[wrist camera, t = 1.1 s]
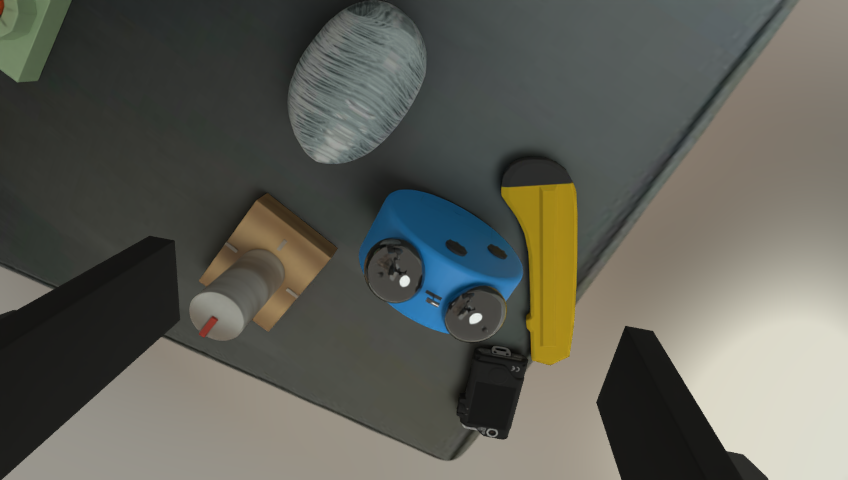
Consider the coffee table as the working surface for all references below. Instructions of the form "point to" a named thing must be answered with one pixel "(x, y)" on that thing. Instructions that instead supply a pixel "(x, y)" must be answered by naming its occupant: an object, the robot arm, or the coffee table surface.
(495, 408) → the camera
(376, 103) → the spool
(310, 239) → the panel
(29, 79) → the button block
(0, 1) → the button
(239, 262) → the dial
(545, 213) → the utility knife
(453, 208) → the alarm clock
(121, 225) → the coffee table surface
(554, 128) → the coffee table surface
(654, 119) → the coffee table surface
